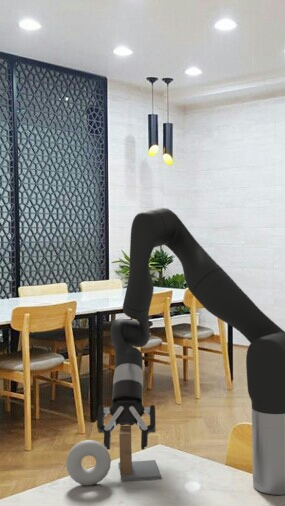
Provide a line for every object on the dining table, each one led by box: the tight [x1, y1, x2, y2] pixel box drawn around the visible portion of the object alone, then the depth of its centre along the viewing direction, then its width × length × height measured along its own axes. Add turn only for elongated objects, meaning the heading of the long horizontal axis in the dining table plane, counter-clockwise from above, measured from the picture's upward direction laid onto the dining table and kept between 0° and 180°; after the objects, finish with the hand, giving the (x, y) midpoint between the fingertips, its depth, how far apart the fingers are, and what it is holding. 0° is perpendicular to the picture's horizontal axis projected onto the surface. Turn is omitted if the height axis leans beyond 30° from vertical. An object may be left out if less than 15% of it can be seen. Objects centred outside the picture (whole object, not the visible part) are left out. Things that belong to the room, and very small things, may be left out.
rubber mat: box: [117, 459, 163, 482], centre depth 143 cm, size 9×10×1 cm
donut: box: [65, 439, 112, 486], centre depth 136 cm, size 10×4×10 cm, turn 98°
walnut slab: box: [118, 425, 133, 476], centre depth 142 cm, size 6×2×10 cm, turn 179°
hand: (125, 448), depth 141 cm, fingers open, 7 cm apart
